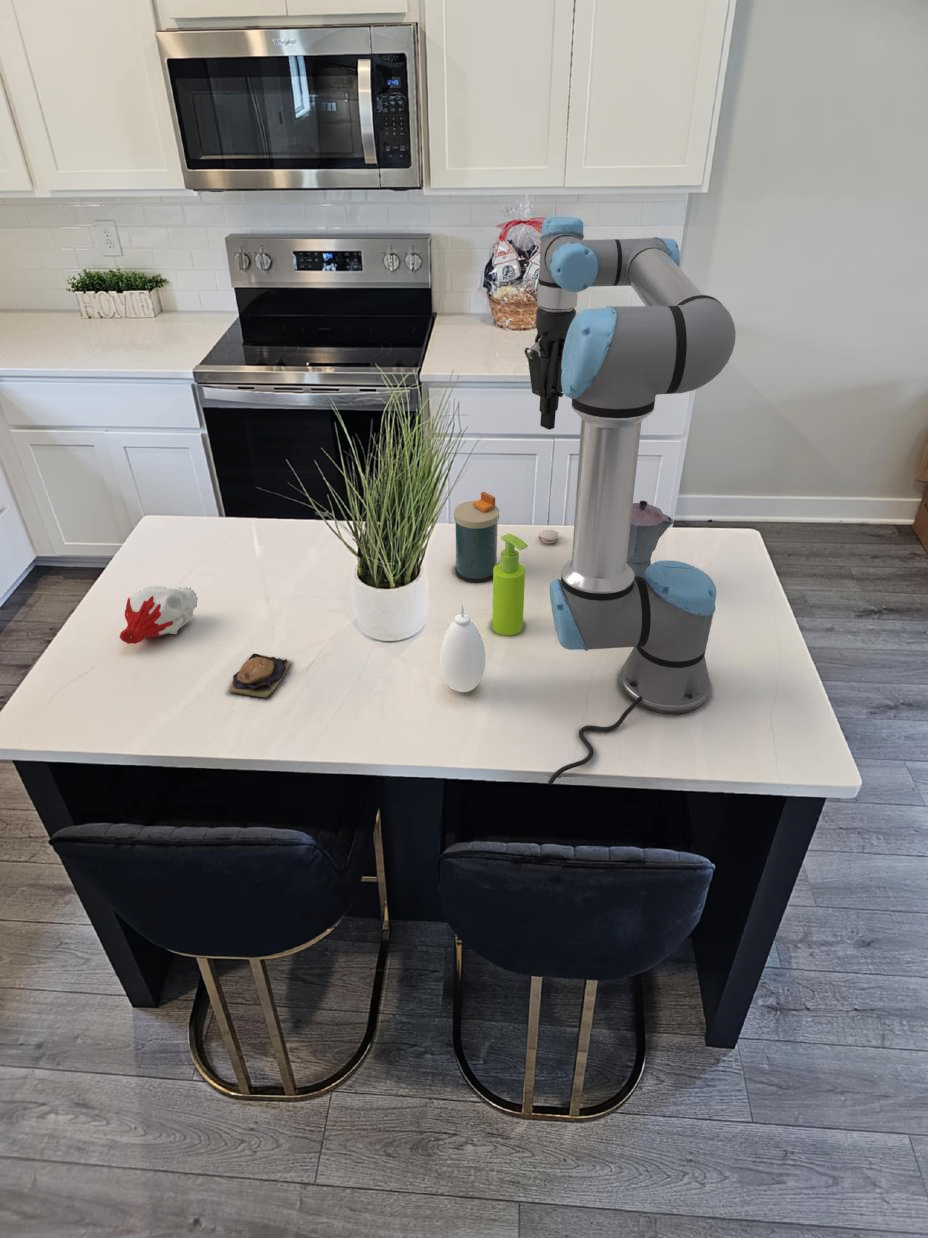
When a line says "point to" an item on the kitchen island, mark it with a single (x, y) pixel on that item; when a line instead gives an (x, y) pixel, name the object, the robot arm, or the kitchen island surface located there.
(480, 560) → the travel mug
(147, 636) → the white decorated figurine
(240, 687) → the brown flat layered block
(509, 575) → the soap dispenser
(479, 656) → the sauce bottle
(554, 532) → the macaroon
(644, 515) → the moka pot
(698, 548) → the kitchen island surface
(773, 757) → the kitchen island surface
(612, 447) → the robot arm
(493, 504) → the orange l-shaped block
